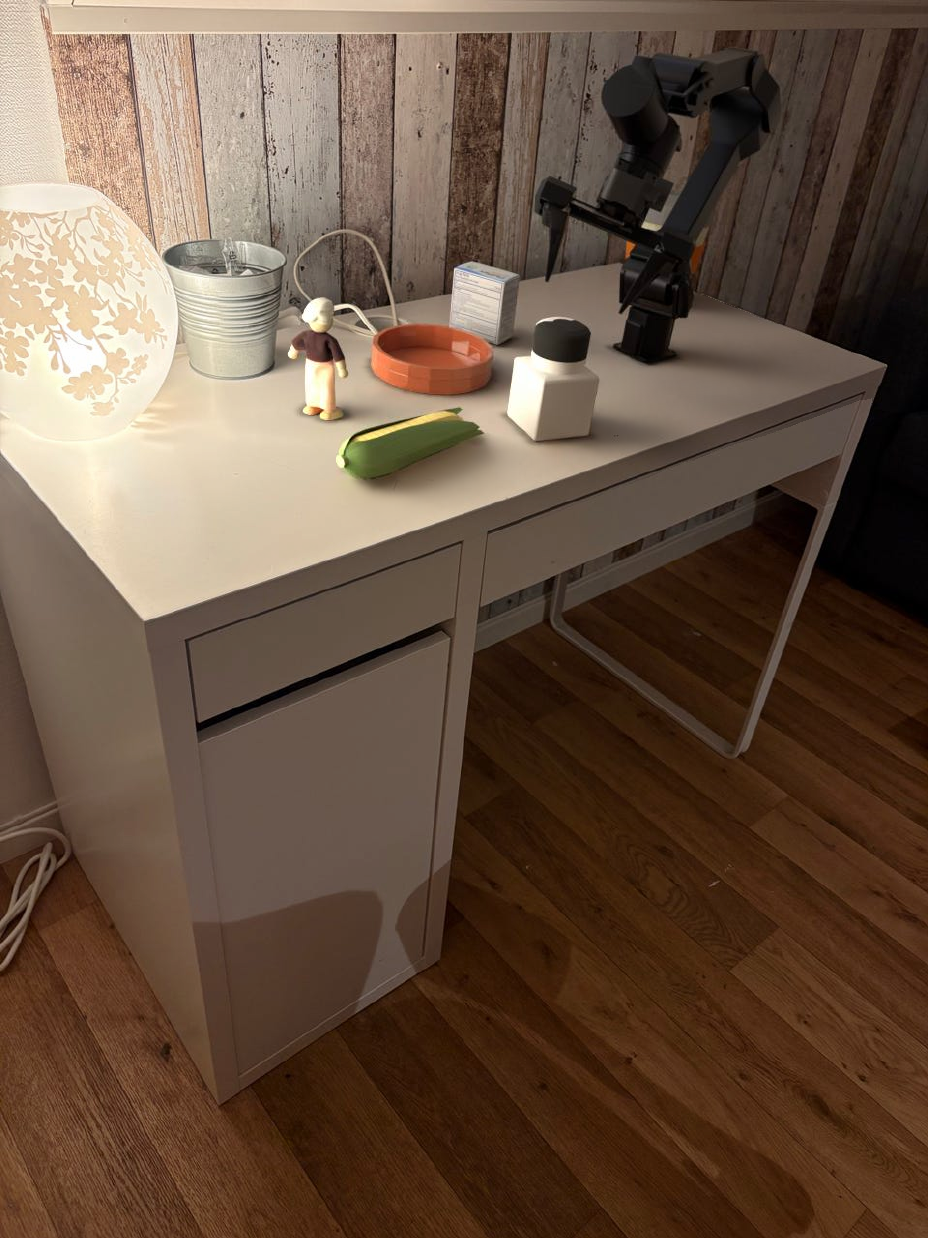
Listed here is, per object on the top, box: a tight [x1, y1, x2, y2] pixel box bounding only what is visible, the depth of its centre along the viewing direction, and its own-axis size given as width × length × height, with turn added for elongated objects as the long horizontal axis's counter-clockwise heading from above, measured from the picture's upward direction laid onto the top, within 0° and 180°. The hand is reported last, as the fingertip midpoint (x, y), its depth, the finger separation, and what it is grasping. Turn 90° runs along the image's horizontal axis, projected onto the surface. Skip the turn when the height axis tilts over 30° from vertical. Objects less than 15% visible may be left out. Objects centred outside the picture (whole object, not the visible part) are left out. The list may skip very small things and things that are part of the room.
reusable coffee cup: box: [625, 188, 715, 279], centre depth 149 cm, size 13×13×15 cm
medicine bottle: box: [507, 316, 600, 442], centre depth 107 cm, size 7×7×12 cm
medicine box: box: [448, 261, 521, 346], centre depth 130 cm, size 8×4×9 cm, turn 58°
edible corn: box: [335, 406, 485, 480], centre depth 99 cm, size 5×20×5 cm, turn 135°
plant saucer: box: [370, 323, 494, 395], centre depth 120 cm, size 15×15×3 cm
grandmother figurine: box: [287, 296, 349, 421], centre depth 104 cm, size 8×4×13 cm, turn 71°
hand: (583, 296), depth 111 cm, fingers open, 9 cm apart
